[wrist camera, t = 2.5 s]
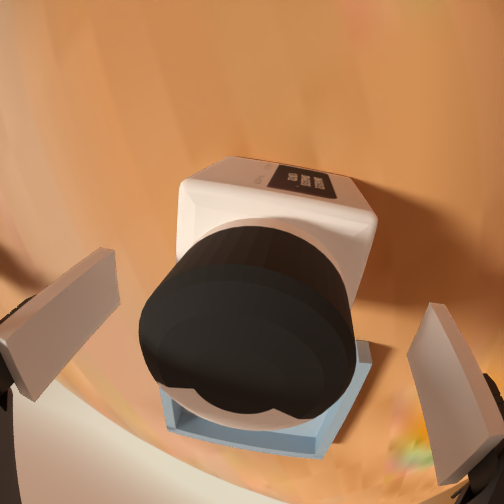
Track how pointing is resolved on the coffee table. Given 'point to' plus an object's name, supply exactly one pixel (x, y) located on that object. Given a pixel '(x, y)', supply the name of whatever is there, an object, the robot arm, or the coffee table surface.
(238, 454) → the coffee table surface
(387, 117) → the coffee table surface
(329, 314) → the container
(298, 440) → the bay
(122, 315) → the coffee table surface
